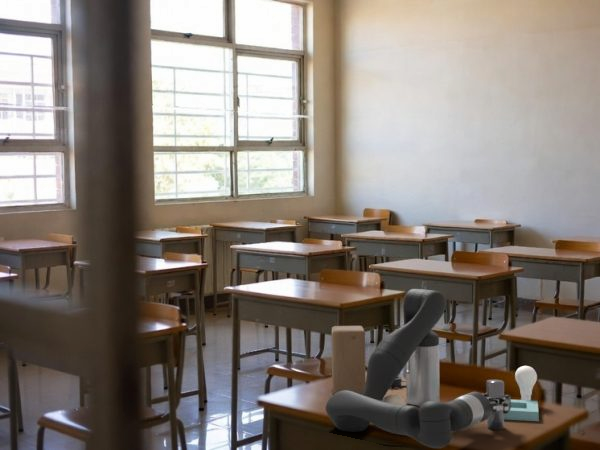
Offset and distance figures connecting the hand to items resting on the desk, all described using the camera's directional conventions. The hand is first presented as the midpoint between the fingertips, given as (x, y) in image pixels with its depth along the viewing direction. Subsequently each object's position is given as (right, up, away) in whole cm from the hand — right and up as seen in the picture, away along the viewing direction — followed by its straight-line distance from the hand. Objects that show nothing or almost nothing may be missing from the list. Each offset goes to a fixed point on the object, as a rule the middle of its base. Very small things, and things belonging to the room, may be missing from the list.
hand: (499, 397), depth 209 cm
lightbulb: (+13, -7, +21) cm, 26 cm away
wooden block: (-37, -7, +38) cm, 54 cm away
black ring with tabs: (-23, -7, +45) cm, 51 cm away
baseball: (-27, -8, +7) cm, 29 cm away
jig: (+7, -7, +11) cm, 14 cm away
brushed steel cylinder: (-2, -7, -2) cm, 8 cm away
